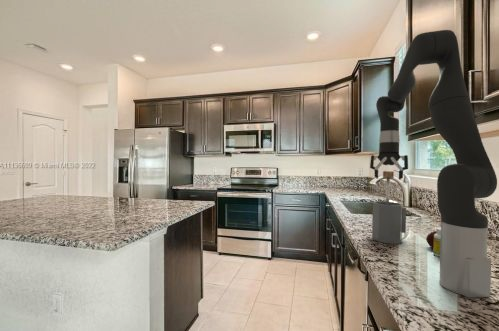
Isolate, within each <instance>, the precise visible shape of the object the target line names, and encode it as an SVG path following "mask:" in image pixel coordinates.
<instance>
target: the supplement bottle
mask: <svg viewBox="0 0 499 331" xmlns="http://www.w3.org/2000/svg"><path fill="white" fill-rule="evenodd" d="M435 231H436V232H437V233H436V234H434V247H433V248H432V250H433V252H432V253H433V254H434V255H435V256H436V257H439V258H440V244H441V227H436V230H435Z"/></svg>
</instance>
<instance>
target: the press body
mask: <svg viewBox="0 0 499 331" xmlns="http://www.w3.org/2000/svg"><path fill="white" fill-rule="evenodd" d="M371 222H372V226H371V228H372V229H371V232H372V233H371V236H372V240H374V241H376V242H378V243H383V244H388V245H401V244H402V243H403V234H405V233H406V227H407V226H406V225H407V207H404V204H402V203H400V202H399V203H394V202H389V205H386V202H385V201H384V200H383V201H381V200H380V201H376V200H375V201H373V202H372V221H371Z"/></svg>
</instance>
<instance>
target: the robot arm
mask: <svg viewBox="0 0 499 331" xmlns="http://www.w3.org/2000/svg"><path fill="white" fill-rule="evenodd" d="M459 47H460V46H459V42H458V37H457V35H456V34H455V32H454V31H453V30H451V29H443V30H441V29H440V30H433V31H426V32H422V33H418V34H417V35H416V36H415V37H414V38H413V39H412V40H411V42H410V44H409V46H408V48H407V51H406V53H405V55H404V58H403V61H402V64H401V66H400V69H399V72H398V74H397V77H396V78H395V81H394V82H393V83H392V85H391V86H390V88H389V90H388V91H387V95H382V96H380V97H378V98H377V100H376V103H375V106H376V111H377V114H378V118H379V123H380V126H379V129H380V130H379V131H380V132H379V139H378V143H379V144H378V155H373V154H372V155H371V156H370V164H369V169H372V170H373V171H374V178H375V179H377V180H379V168H380V167H381V166H382V165H383V166H394V165H395V166H396V168H397V169H398V170H399V171H398V180H399V181H401V179H403V177H404V171H405V170H408V169H409V157H408V155H406V154H405V155H400V120H399V118H398V117H396V116H391V115H390V114H389V113H399V112H401V111H403V110H404V107H405V104H406V101H407V97H408V96H409V95H410V93H411V92H412V91H413V89H414V88H415V86H416V82H417V81H416V75H415V71H414V70H415V69H416V68H418V66H420V65H421V66H423V65H425V66H426V65H431V64H436V65H437V67H438V71H439V78H438V82H437V83H436V86H434V89H433V91H432V93H431V95H430V96H429V100H428V111H429V114H430V119H431V122H432V125H433V127H434V129H435V130H436V132H437V133H438V134H439V135H440V137H442V139H443V140H444V141H445V143H447V144H448V146H449V147H450V149H451V150H452V152H453V154H454V158H455V161H456V163H450V164H447V165H445V166H443V167H442V168H441V170H440V172H439V173H438V175H437V182H436V191H437V193H436V194H437V208H438V212H439V214H440V218H441V219H440V228H441V244H440V257H439V285H441V286H442V287H443V288H445V289H447V290H449V291H450V292H453V293H456V294H459V295H462V296H464V297H466V298H469V299H471V298H491V286H492V284H491V283H492V282H491V281H492V259H491V258H489V257H488V227H489V219H488V217H487V215H485V214H484V213H481V212H479V211H478V209H477V208H476V203H475V200H476V199H485V198H490V196H492V195H493V194H494V193H495V191H496V190H497V187H498V177H497V174H496V172H495V169H494V166H493V164H492V162H491V160H490V157H489V155H488V153H487V151H486V149H485V146H484V143H483V141H482V138H481V137H482V136H481V134H480V131H479V127H478V124H477V121H476V117H475V112H474V109H473V105H472V101H471V97H470V95H469V92H468V90H467V86H466V82H465V78H464V73H463V69H462V63H461V56H460V55H461V54H460V49H459ZM377 159H378V161H379V163H378V164H377V165H376V166H375V164H374V163H375V161H376V160H377ZM400 159H401V160H402V161H403V163H404V164H403V167H402V166H401V165H400V163H399V162H398V161H399V160H400Z"/></svg>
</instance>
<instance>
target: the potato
mask: <svg viewBox="0 0 499 331" xmlns="http://www.w3.org/2000/svg"><path fill="white" fill-rule="evenodd" d="M436 233H437V232H436V230H433V231H431V232H430V233H428V234H427V236H426V243H427V244H428V246H429V247H430V248H432V249H433V247H434V234H436Z"/></svg>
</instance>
